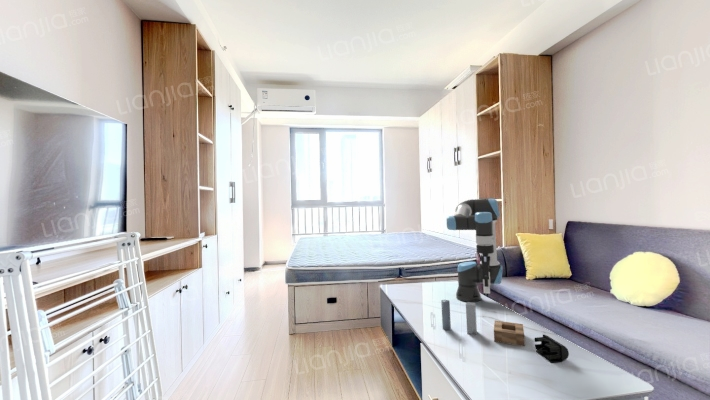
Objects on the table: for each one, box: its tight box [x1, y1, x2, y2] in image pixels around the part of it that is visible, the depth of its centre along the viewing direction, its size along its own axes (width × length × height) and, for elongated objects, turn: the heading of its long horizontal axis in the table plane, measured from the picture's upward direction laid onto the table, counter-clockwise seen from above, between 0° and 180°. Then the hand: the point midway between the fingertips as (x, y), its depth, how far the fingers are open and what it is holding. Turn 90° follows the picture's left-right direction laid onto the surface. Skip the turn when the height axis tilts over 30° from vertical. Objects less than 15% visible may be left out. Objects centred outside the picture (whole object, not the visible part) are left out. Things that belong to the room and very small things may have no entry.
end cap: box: [534, 334, 570, 364], centre depth 117 cm, size 10×7×7 cm
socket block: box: [493, 320, 526, 347], centre depth 134 cm, size 12×12×5 cm
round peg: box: [440, 299, 452, 331], centre depth 147 cm, size 4×4×14 cm
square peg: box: [465, 302, 478, 336], centre depth 141 cm, size 4×4×14 cm
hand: (487, 289), depth 138 cm, fingers open, 13 cm apart
